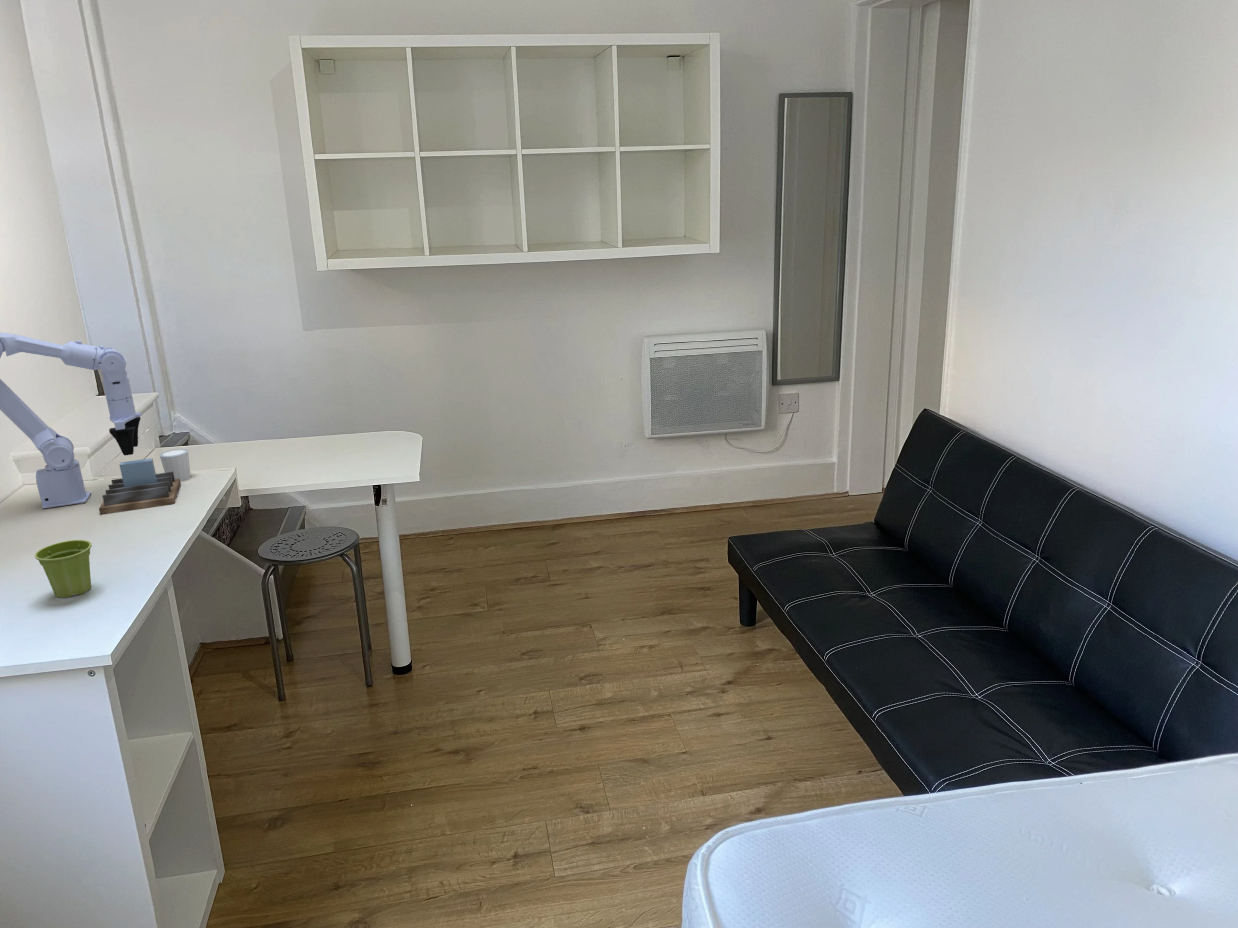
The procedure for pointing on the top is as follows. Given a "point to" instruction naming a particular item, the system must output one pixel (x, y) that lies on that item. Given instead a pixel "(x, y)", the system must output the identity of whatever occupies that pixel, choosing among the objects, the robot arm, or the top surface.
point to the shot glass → (176, 463)
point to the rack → (140, 494)
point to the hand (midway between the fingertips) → (130, 450)
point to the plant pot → (67, 566)
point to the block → (138, 472)
